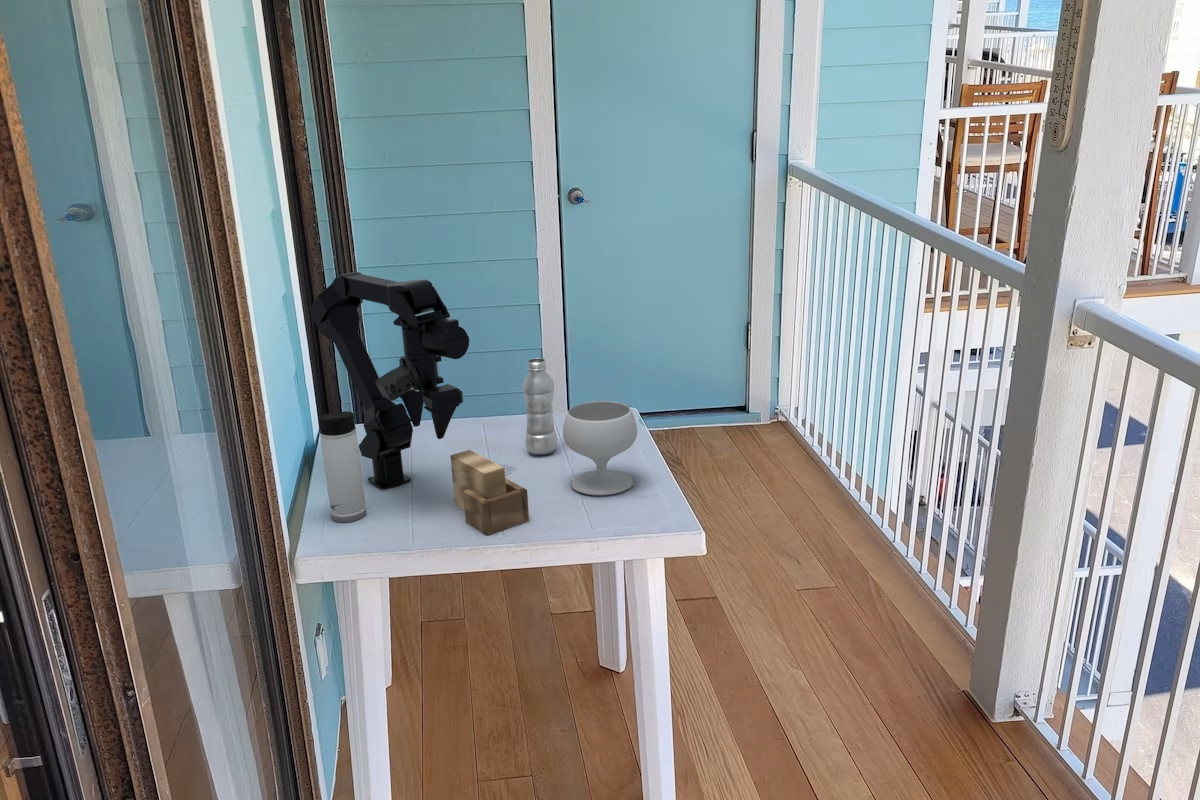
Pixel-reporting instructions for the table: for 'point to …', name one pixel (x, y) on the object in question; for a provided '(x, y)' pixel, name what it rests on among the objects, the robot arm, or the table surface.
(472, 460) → the tan wooden block
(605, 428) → the chalice
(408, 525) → the table surface
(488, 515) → the end cap
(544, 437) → the plastic bottle
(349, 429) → the travel mug
